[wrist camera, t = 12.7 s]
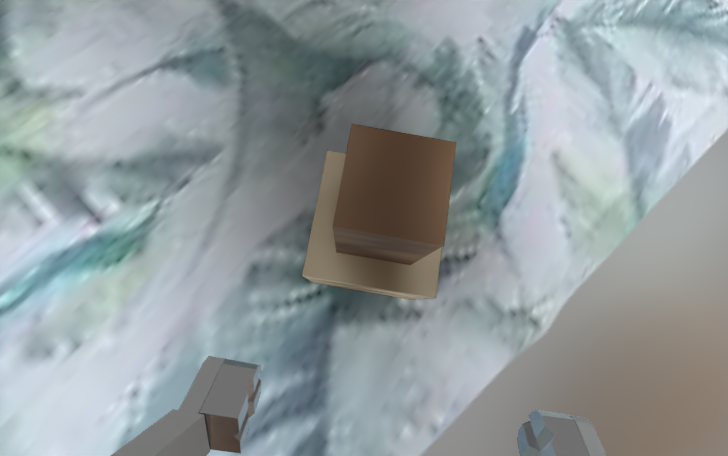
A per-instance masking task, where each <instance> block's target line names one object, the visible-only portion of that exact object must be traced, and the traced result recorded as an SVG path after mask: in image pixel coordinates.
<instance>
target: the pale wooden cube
mask: <svg viewBox="0 0 728 456" xmlns="http://www.w3.org/2000/svg"><path fill="white" fill-rule="evenodd" d="M345 157H346V153H340V152H334V151H329V150H327V153H326V158H325V163H324V168H323V173H322V178H321V183H320V189H319V194H318V199H317V204H316V209H315V214H314V219H313V224H312V229H311V234H310V239H309V244H308V249H307V254H306V259H305V264H304V269H303V274H302V276H304V277H305V278H307V279H308V280H310V281H311V282H313V283H317V284H323V285H329V286H335V287H340V288H346V289H352V290H358V291H364V292H370V293H376V294H382V295H388V296H394V297H400V298H406V299H428V298H436V292H437V284H438V276H439V267H440V259H441V251H442V247H441V248H439V249H437V250H436V251H434V252H432V253H430V254H429V255H427V256H425V257H423V258H422V259H420V260H418V261H417V262H415V263H413V264H411V265H407V264H401V263H395V262H389V261H383V260H378V259H372V258H366V257H360V256H354V255H348V254H342V253H336V246H335V239H334V233H333V221H334V216H335V211H336V205H337V200H338V195H339V189H340V184H341V179H342V173H343V168H344V162H345Z"/></svg>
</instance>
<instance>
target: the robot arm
mask: <svg viewBox="0 0 728 456" xmlns="http://www.w3.org/2000/svg"><path fill="white" fill-rule="evenodd" d="M260 374H261V365H259V364H253V363H247V362H241V361H235V360H229V359H225V358H219V357H213V356H208V358H207V359H206V360H205V361H204V363H203V364H202V366H201V368H200V370H199V372H198V374H197V376H196V378H195V380H194V381H193V383H192V385H191V387H190V389H189V391H188V393H187V395H186V397H185V398H184V400H183V402H182V404H181V406H180V408H179V410H174V409H173V410H172V411H170V412H169V413H168V414H166V415H165V416H164V417H162V418H161V419H159V420H158V421H157V422H155V423H154V424H153V425H151V426H150V427H149V428H147V429H146V430H145V431H143V432H142V433H141V434H139V435H138V436H137V437H135V438H134V439H133V440H131V441H130V442H129V443H127V444H126V445H124V446H123V447H122V448H120V449H119V450H118V451H116V452H115V453H114V454H112V455H111V456H206V455H207V454H208V453H209V452H210V449H211V450H219V451H226V452H234V453H241V451H242V448H243V445H244V442H245V439H246V437H247V434H248V431H249V418H250V417H251V416H252V415H253V414H254V413H255V410H256V407H257V404H258V400H259V396H260V391H261V380H260V379H259V376H260ZM529 418H530V421H528V422H526V423H523V424H522V426H521V427H520V429H519V431H518V438H517V440H518V449H519V453H520V456H607V455H606V453H605V451H604V449H603V447H602V445H601V442H600V440H599V438H598V436H597V434H596V432H595V429H594V427H593V425H592V423H591V422H590V421H589V420H588V419H587V418H584V417H578V416H571V415H567V414H561V413H554V412H547V411H540V410H535V411H532V412H531V413H530V415H529Z"/></svg>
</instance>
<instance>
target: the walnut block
mask: <svg viewBox="0 0 728 456" xmlns="http://www.w3.org/2000/svg"><path fill="white" fill-rule="evenodd" d="M455 148H456V142H451V141H446V140H440V139H434V138H429V137H423V136H417V135H412V134H406V133H400V132H395V131H389V130H384V129H378V128H372V127H367V126H361V125H355V124H352V125H351V130H350V136H349V141H348V146H347V152H346V157H345V162H344V168H343V173H342V179H341V184H340V189H339V195H338V200H337V205H336V211H335V216H334V221H333V233H334V239H335V246H336V253H342V254H348V255H354V256H360V257H366V258H372V259H378V260H383V261H389V262H395V263H401V264H407V265H411V264H413V263H415V262H417V261H418V260H420V259H422V258H423V257H425V256H427V255H429V254H430V253H432V252H434V251H436V250H437V249H439V248H441V247H442V246H444V241H445V232H446V224H447V216H448V207H449V199H450V190H451V182H452V173H453V165H454V157H455Z"/></svg>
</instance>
